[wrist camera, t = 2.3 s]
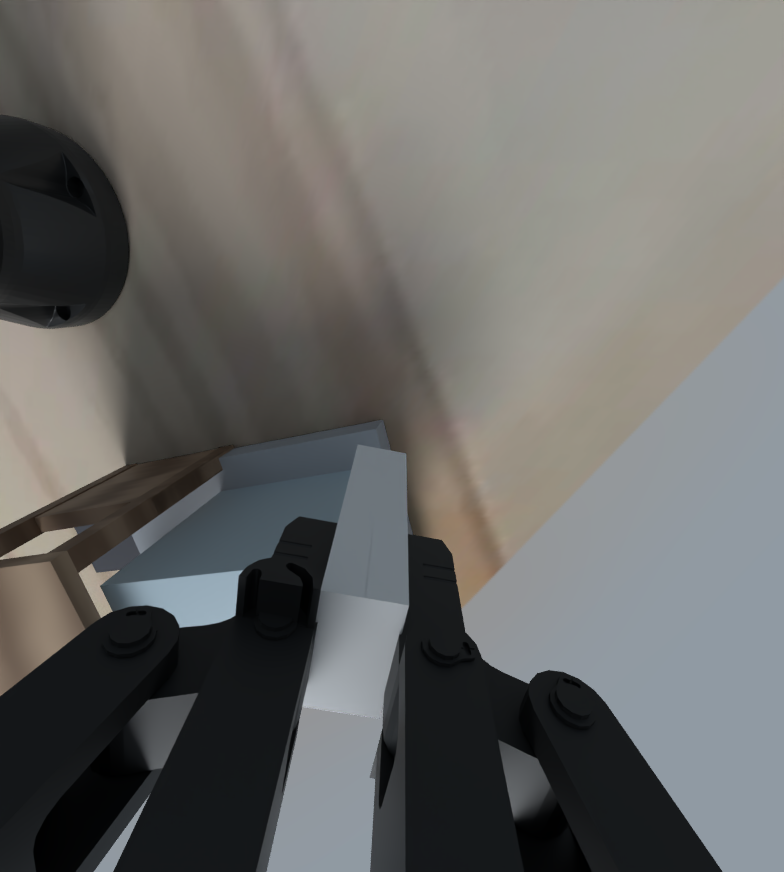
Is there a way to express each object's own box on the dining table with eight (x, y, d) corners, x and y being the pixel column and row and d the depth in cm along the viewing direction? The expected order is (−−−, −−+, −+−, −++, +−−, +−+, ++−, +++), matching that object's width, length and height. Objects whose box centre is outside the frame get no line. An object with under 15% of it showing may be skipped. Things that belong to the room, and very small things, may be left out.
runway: (382, 419, 36) (375, 429, 34) (419, 557, 40) (414, 574, 37) (126, 468, 43) (106, 479, 41) (177, 583, 46) (160, 598, 44)
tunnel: (232, 444, 40) (50, 561, 23) (280, 574, 43) (151, 756, 27) (125, 465, 43) (-105, 581, 26) (177, 585, 47) (5, 754, 30)
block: (373, 466, 35) (314, 562, 23) (394, 544, 37) (350, 670, 25) (220, 491, 39) (100, 585, 27) (247, 560, 40) (145, 678, 28)
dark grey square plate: (128, 493, 44) (126, 495, 44) (159, 563, 46) (157, 565, 46) (66, 504, 46) (63, 505, 46) (98, 570, 48) (96, 572, 48)
